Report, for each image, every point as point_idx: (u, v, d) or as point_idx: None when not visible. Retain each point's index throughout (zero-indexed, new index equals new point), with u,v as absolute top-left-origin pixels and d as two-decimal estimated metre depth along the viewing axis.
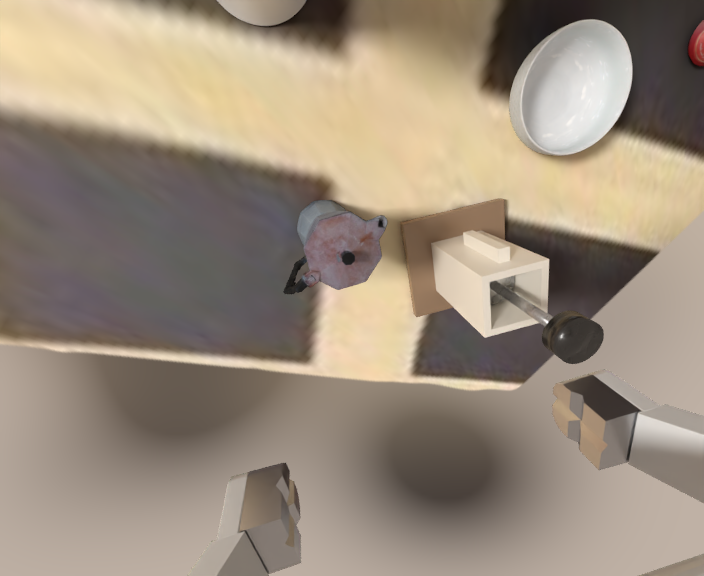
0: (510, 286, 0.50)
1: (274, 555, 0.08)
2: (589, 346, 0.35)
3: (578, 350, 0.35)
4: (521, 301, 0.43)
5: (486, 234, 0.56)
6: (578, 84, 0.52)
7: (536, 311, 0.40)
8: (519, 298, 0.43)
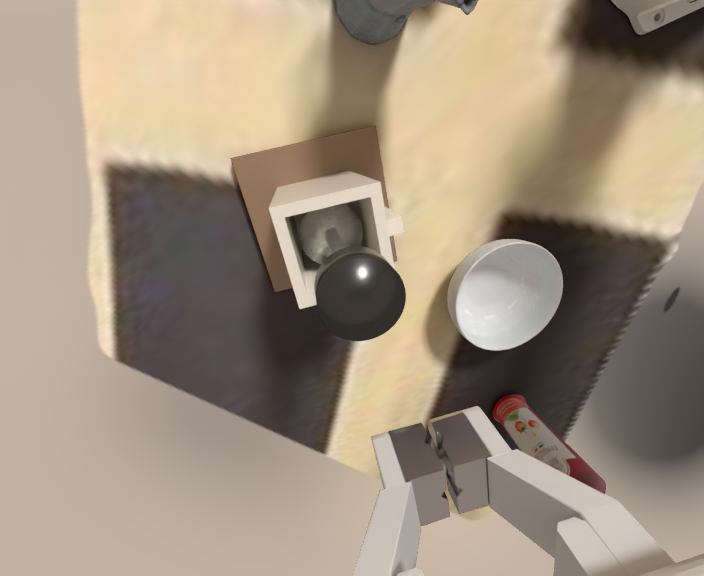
0: None
1: (429, 507, 0.08)
2: (353, 320, 0.19)
3: (347, 300, 0.18)
4: None
5: None
6: (496, 310, 0.55)
7: None
8: None
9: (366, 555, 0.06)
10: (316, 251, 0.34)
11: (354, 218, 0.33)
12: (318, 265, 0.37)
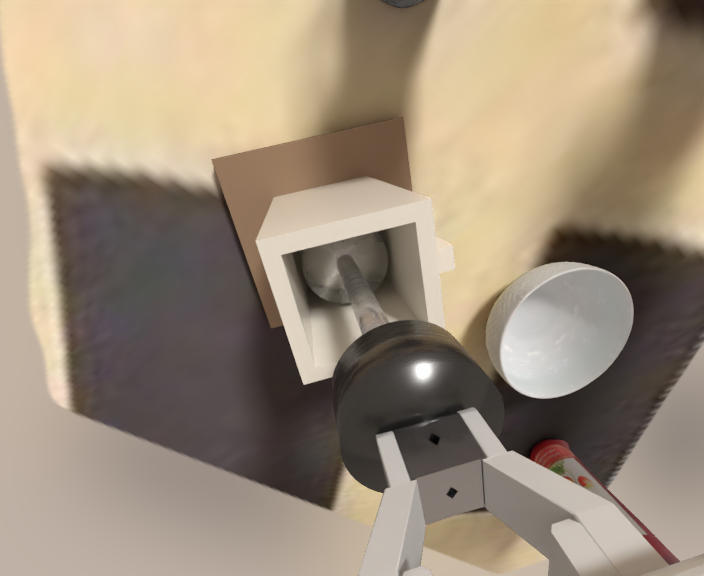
0: (341, 297, 0.26)
1: (434, 506, 0.08)
2: None
3: None
4: (373, 294, 0.18)
5: None
6: (541, 345, 0.45)
7: (386, 319, 0.16)
8: None
9: (372, 553, 0.06)
10: (325, 285, 0.25)
11: (377, 242, 0.24)
12: (328, 306, 0.27)
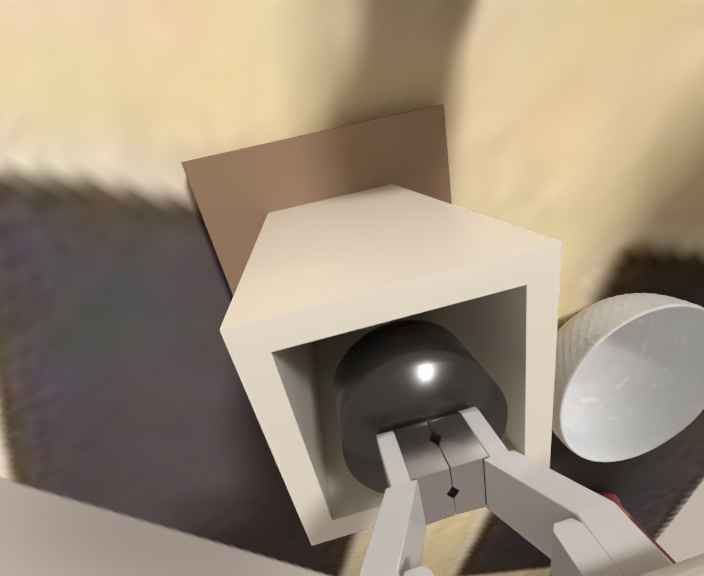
0: None
1: (434, 506, 0.08)
2: None
3: None
4: None
5: None
6: (598, 389, 0.36)
7: None
8: None
9: (373, 553, 0.06)
10: None
11: None
12: None
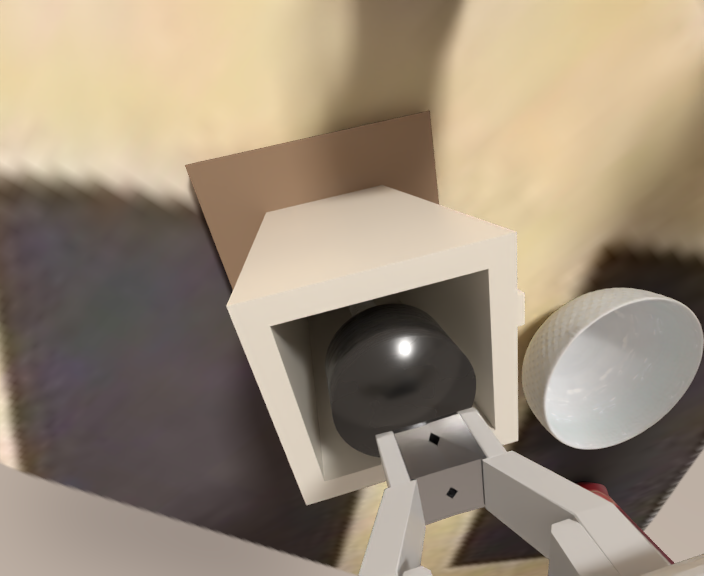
0: None
1: (434, 506, 0.08)
2: (390, 429, 0.12)
3: (381, 402, 0.11)
4: None
5: None
6: (583, 381, 0.38)
7: None
8: None
9: (372, 553, 0.06)
10: None
11: None
12: None
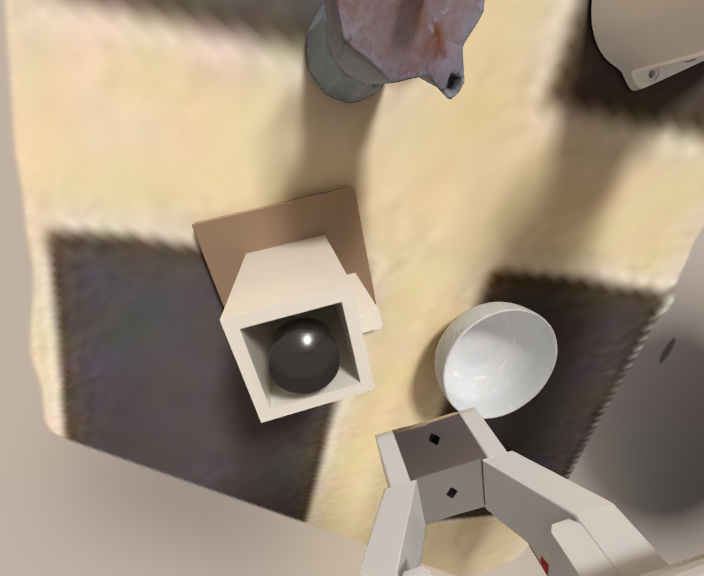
0: None
1: (434, 506, 0.08)
2: (298, 378, 0.24)
3: (292, 364, 0.24)
4: None
5: None
6: (486, 370, 0.51)
7: None
8: None
9: (372, 553, 0.06)
10: None
11: None
12: None
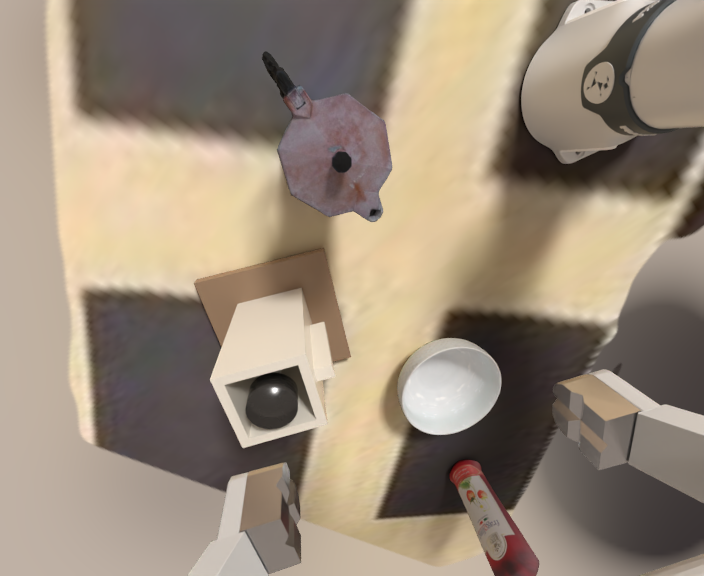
0: None
1: (274, 555, 0.08)
2: (267, 418, 0.33)
3: (263, 409, 0.33)
4: None
5: None
6: (446, 392, 0.59)
7: None
8: None
9: None
10: None
11: None
12: None
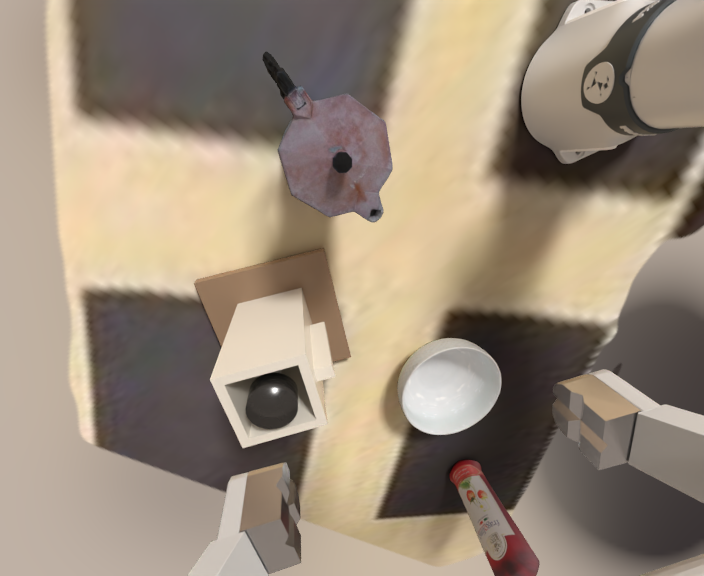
0: None
1: (274, 555, 0.08)
2: (267, 418, 0.33)
3: (263, 409, 0.33)
4: None
5: None
6: (446, 392, 0.59)
7: None
8: None
9: None
10: None
11: None
12: None
